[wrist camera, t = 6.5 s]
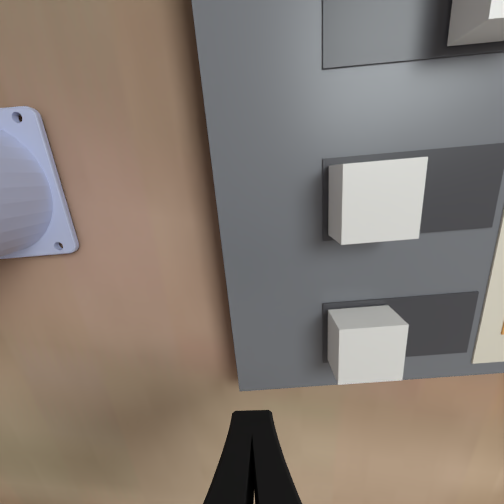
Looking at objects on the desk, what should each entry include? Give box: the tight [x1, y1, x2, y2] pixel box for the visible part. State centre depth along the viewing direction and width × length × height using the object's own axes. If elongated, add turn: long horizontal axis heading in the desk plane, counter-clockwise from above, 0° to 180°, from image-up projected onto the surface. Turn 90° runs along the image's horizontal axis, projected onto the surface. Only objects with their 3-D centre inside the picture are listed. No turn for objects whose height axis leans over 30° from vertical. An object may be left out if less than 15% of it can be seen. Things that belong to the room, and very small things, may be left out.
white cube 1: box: [328, 305, 409, 385], centre depth 14 cm, size 4×4×2 cm
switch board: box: [191, 0, 504, 391], centre depth 14 cm, size 20×24×2 cm
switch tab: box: [328, 157, 428, 245], centre depth 12 cm, size 4×4×2 cm
